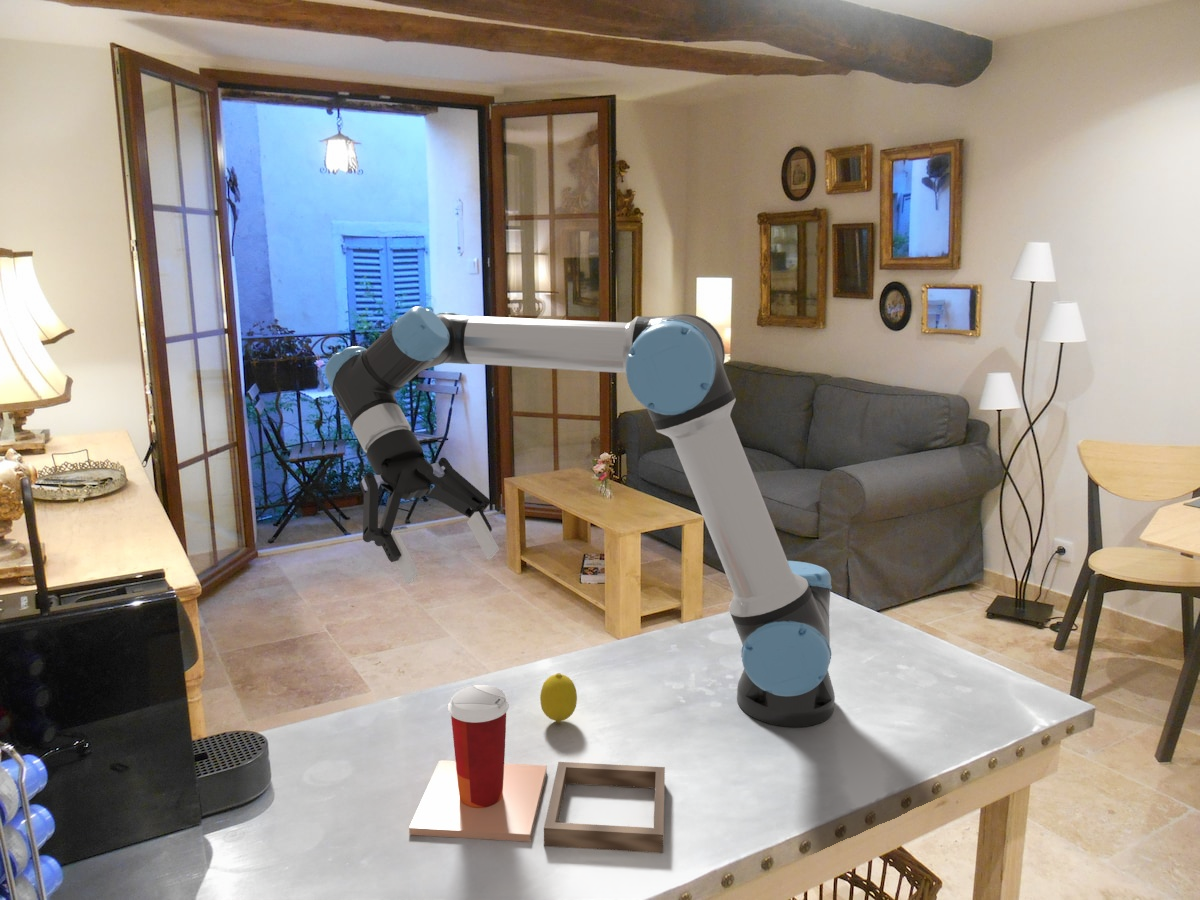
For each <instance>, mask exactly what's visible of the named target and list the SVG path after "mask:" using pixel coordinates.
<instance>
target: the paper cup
mask: <svg viewBox="0 0 1200 900" xmlns="http://www.w3.org/2000/svg"><path fill="white" fill-rule="evenodd" d="M509 708H510V703H509V700H508V699H507V697H506V694H505V693H504V691H503V690H502V689H500V688H499V687H497V686H493V685H489V684H488V685H487V684H476V685H470V686H466V687H464V688H461V689H460V690H457V691H456V692H455V693H454V694H453V696H451V698H450V701H449V702H448V704H447V709H448V710H447V711H448V713H449V715H450V716H451V717H450V719H451V727H452V728H451V729H452V738H453V748H454V758H455V760H454V761H456V770H457V780H458V789H459V796H460V800H461V802H462V803H463V804H465V805H466V806H469V807H473V808H485V807H489V806H492V805H494V804H496V803H497V802H498V801H499V800H500V799H501V797H502V793H503V779H504V764H505V755H506V735H507V734H506V732H507V731H506V728H507V712H508V710H509Z"/></svg>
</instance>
